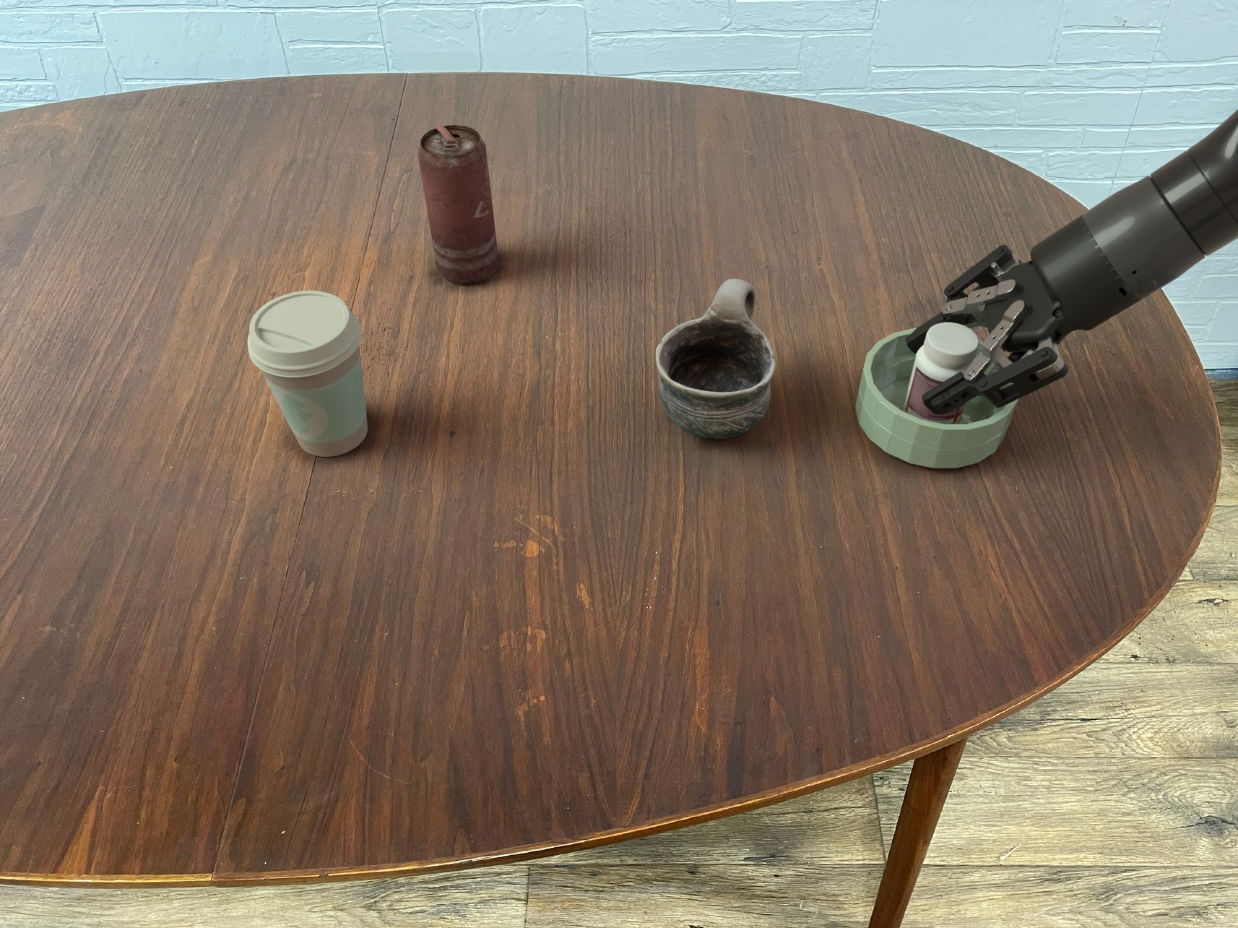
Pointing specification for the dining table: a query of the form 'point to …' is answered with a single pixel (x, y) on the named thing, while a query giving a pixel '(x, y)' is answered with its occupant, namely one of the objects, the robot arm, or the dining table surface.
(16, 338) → the dining table surface
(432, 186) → the can
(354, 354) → the coffee cup
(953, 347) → the pill bottle
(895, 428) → the bowl
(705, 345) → the mug
